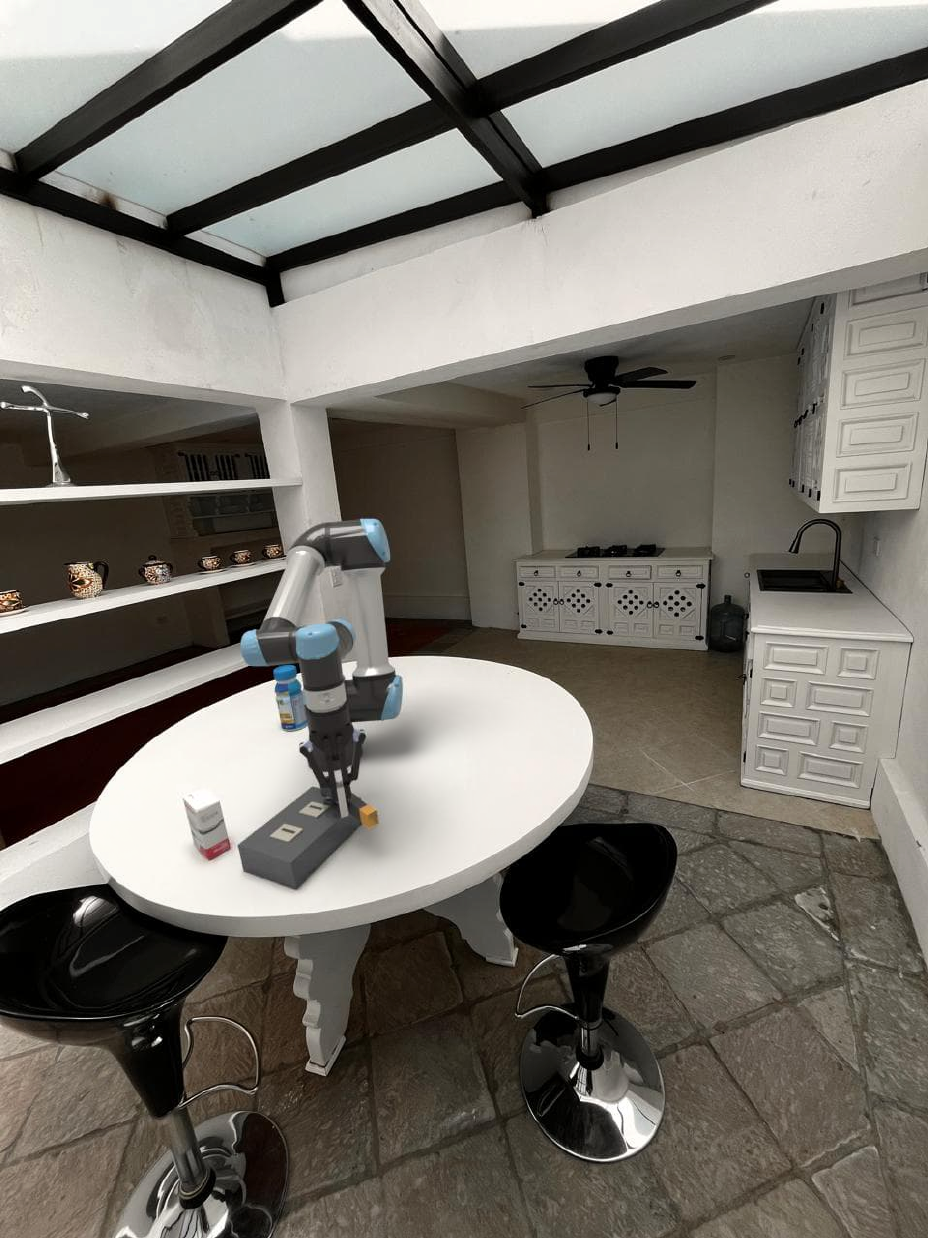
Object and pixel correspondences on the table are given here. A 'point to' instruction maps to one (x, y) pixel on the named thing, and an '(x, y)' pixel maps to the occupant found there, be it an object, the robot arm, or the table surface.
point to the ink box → (207, 823)
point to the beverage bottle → (289, 698)
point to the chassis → (297, 840)
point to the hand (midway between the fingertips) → (344, 813)
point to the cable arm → (357, 808)
